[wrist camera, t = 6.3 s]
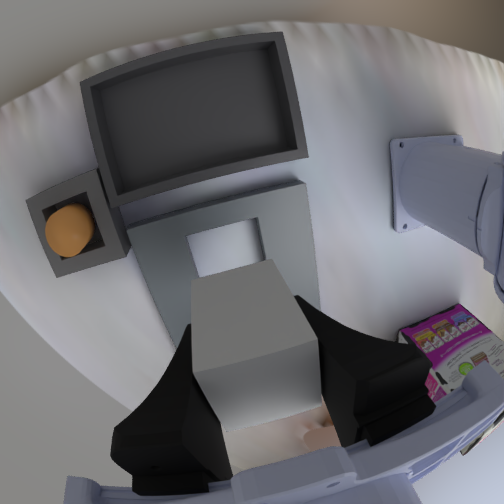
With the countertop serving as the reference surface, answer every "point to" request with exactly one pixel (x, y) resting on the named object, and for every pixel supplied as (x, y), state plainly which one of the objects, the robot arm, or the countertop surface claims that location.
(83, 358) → the countertop surface
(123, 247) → the button housing
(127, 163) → the tote
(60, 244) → the orange button
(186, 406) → the robot arm
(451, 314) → the candy bar box
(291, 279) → the grey slotted board
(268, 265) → the pale grey block
